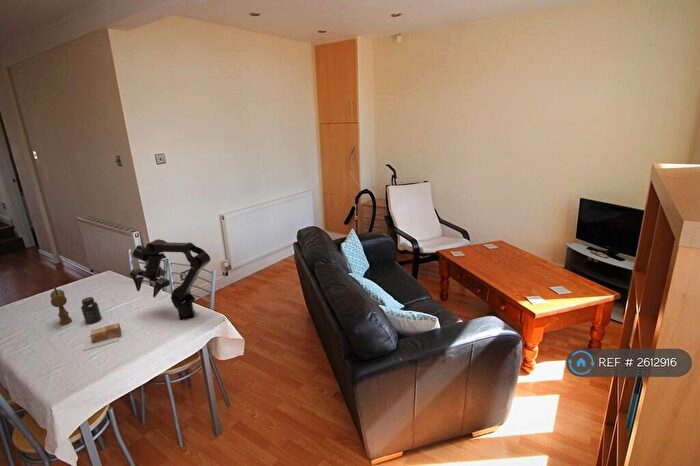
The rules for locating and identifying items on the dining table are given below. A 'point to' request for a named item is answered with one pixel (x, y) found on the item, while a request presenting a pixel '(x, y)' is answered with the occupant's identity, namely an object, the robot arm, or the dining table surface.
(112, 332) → the walnut block
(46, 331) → the dining table surface
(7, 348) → the dining table surface
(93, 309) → the supplement bottle
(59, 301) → the kendama
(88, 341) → the felt pad
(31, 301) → the dining table surface
